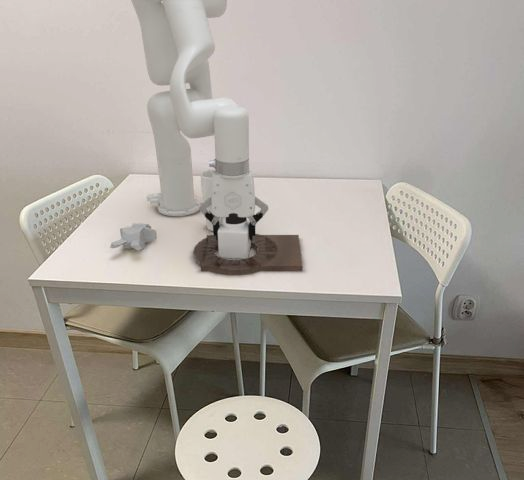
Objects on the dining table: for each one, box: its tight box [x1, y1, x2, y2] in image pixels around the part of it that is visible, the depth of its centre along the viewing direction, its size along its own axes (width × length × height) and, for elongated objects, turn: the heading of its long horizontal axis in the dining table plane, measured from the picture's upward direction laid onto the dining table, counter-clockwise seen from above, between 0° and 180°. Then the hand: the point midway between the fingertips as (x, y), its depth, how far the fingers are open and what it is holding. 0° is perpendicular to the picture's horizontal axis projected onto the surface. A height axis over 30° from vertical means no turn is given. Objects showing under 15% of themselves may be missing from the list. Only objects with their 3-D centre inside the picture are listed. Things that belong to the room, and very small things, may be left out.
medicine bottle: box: [218, 213, 251, 260], centre depth 130 cm, size 7×7×12 cm
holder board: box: [192, 233, 303, 276], centre depth 134 cm, size 26×21×2 cm
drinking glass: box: [200, 169, 222, 232], centre depth 142 cm, size 7×7×15 cm
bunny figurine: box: [109, 222, 157, 251], centre depth 137 cm, size 10×5×15 cm
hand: (234, 237), depth 132 cm, fingers closed on medicine bottle, 7 cm apart
